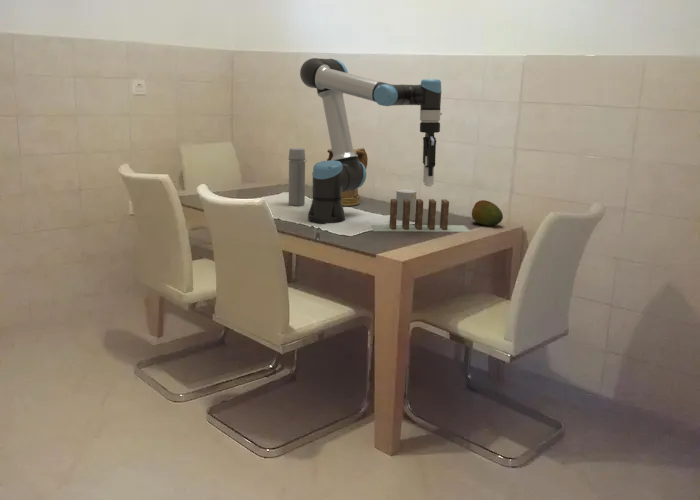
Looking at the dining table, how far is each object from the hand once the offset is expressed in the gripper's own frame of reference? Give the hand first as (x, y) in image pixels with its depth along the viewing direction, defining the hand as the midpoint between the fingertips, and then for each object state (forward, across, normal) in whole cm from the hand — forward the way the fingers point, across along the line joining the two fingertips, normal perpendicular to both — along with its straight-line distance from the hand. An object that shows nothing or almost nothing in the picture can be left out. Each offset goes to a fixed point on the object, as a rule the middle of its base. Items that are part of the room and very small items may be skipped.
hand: (428, 183), depth 260 cm
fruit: (+19, +9, -26) cm, 33 cm away
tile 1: (+17, 0, +13) cm, 22 cm away
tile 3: (+17, 0, +3) cm, 18 cm away
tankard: (+16, +54, +29) cm, 63 cm away
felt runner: (+18, 0, +3) cm, 18 cm away
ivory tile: (+1, 0, 0) cm, 1 cm away
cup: (+18, +18, +6) cm, 26 cm away
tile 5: (+18, 0, -6) cm, 19 cm away
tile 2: (+17, 0, +8) cm, 19 cm away
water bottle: (+16, +46, +50) cm, 70 cm away
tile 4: (+18, 0, -2) cm, 18 cm away
